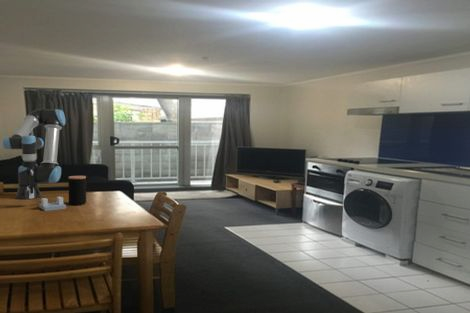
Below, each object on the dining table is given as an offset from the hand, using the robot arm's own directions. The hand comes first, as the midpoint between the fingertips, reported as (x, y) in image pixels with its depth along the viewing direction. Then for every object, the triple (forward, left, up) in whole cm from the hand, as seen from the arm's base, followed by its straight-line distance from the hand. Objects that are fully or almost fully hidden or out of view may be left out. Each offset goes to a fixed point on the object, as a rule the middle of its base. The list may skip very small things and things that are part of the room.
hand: (30, 197), depth 232 cm
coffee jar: (+9, +25, -6) cm, 28 cm away
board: (+12, +9, -6) cm, 16 cm away
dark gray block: (0, 0, -1) cm, 1 cm away
